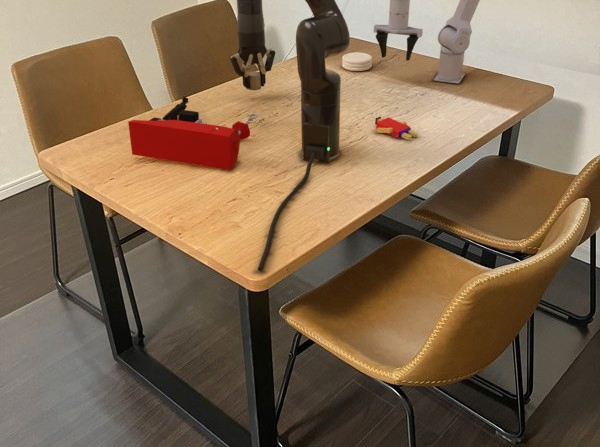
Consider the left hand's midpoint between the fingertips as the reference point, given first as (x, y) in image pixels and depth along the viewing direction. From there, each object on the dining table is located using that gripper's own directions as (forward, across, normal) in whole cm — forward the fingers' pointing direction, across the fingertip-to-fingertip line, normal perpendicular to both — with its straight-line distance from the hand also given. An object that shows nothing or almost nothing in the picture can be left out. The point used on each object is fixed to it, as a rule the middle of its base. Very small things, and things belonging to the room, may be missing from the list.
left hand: (254, 86), depth 183 cm
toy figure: (+4, -23, +40) cm, 47 cm away
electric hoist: (+4, +23, +21) cm, 31 cm away
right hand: (-5, -43, +10) cm, 44 cm away
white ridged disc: (+4, -41, -11) cm, 43 cm away
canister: (0, 0, 0) cm, 0 cm away
